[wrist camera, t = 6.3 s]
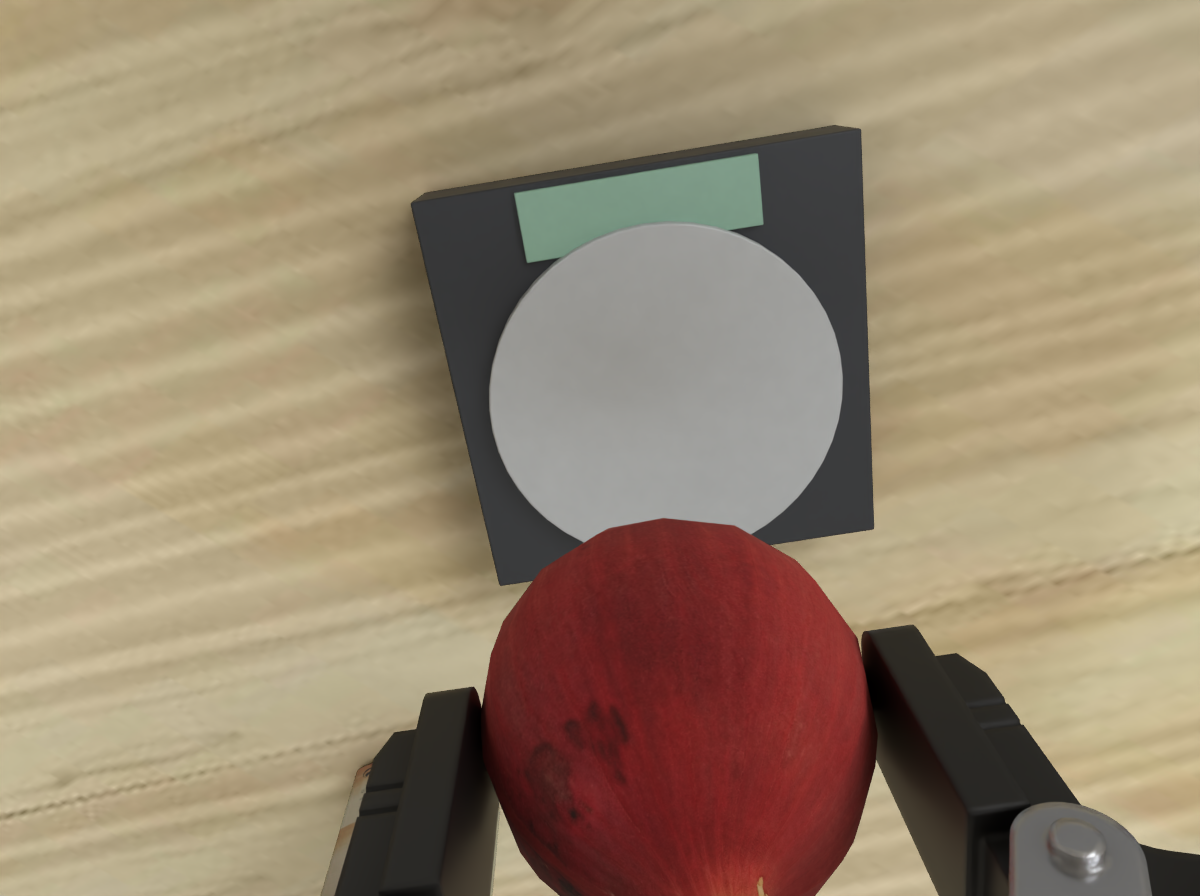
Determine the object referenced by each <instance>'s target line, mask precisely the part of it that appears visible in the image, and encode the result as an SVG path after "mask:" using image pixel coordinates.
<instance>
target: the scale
mask: <svg viewBox="0 0 1200 896" xmlns="http://www.w3.org/2000/svg"><path fill="white" fill-rule="evenodd" d="M411 208H412V212H413V217H414V221H415V225H416V229H417V234H418V238H419V242H420V247H421V251H422V255H423V259H424V264H425V268H426V272H427V277H428V281H429V285H430V289H431V294H432V298H433V302H434V307H435V311H436V315H437V319H438V324H439V328H440V332H441V337H442V341H443V345H444V349H445V354H446V358H447V362H448V367H449V371H450V375H451V379H452V384H453V388H454V392H455V397H456V401H457V405H458V409H459V414H460V418H461V422H462V427H463V431H464V435H465V439H466V444H467V448H468V452H469V457H470V461H471V465H472V469H473V474H474V478H475V482H476V487H477V491H478V495H479V499H480V504H481V508H482V512H483V516H484V521H485V525H486V529H487V534H488V538H489V542H490V546H491V551H492V555H493V559H494V564H495V568H496V572H497V576H498V581H499V584H500V586H503V585H510V584H516V583H523V582H529V581H533V580H534V579H535V578H536V576H537V575H538V574H539V572H540V571H541V569H543V568H545V567H546V566H548V565H549V564H551V563H552V562H554V561H555V560H557V559H559V558H560V557H562V556H563V555H565V554H567V553H568V552H570V551H572V550H573V549H575V548H576V547H578V546H579V545H581V544H583V543H584V542H586V541H587V540H589V539H591V538H592V537H594V536H595V535H597V534H599V533H601V532H602V531H604V530H606V529H608V528H612V527H617V526H623V525H628V524H633V523H639V522H644V521H650V520H655V519H660V518H669V519H678V520H688V521H698V522H707V523H717V524H726V525H735V526H737V527H739V528H740V529H742V530H744V531H746V532H747V533H749V534H751V535H753V536H754V537H756V538H758V539H760V540H761V541H763V542H765V543H767V544H768V545H774V544H780V543H787V542H793V541H800V540H807V539H813V538H820V537H826V536H833V535H840V534H846V533H853V532H859V531H866V530H873V529H874V509H873V479H872V448H871V418H870V388H869V357H868V327H867V296H866V266H865V236H864V205H863V175H862V145H861V129H859V128H851V127H844V126H836V125H833V126H827V127H821V128H815V129H809V130H803V131H797V132H791V133H785V134H779V135H773V136H767V137H761V138H754V139H748V140H742V141H736V142H730V143H724V144H718V145H712V146H706V147H700V148H694V149H688V150H682V151H676V152H670V153H664V154H657V155H651V156H645V157H639V158H633V159H627V160H621V161H615V162H609V163H603V164H597V165H591V166H585V167H579V168H573V169H567V170H561V171H554V172H548V173H542V174H536V175H530V176H524V177H518V178H512V179H506V180H500V181H494V182H488V183H482V184H476V185H470V186H464V187H457V188H451V189H445V190H439V191H433V192H427V193H424V194H423V195H421V196H420V197H419V198H417V199H416V200H414V201H413V202H412V203H411Z"/></svg>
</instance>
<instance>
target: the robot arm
mask: <svg viewBox="0 0 1200 896" xmlns="http://www.w3.org/2000/svg"><path fill="white" fill-rule="evenodd" d="M861 648H862V661H863V665H864V670H865V674H866V679H867V684H868V688H869V693H870V698H871V703H872V708H873V712H874V717H875V722H876V727H877V732H878V740H877V751H876V760H877V762H878V764H879V767H880V769H881V771H882V773H883V775H884V777H885V780H886V782H887V784H888V786H889V788H890V791H891V793H892V795H893V797H894V799H895V801H896V804H897V806H898V808H899V810H900V812H901V814H902V817H903V819H904V821H905V823H906V825H907V828H908V830H909V832H910V834H911V836H912V838H913V841H914V843H915V845H916V847H917V849H918V851H919V854H920V856H921V858H922V860H923V862H924V865H925V867H926V869H927V871H928V873H929V875H930V878H931V880H932V882H933V884H934V886H935V888H936V891H937V893H938V895H939V896H1200V855H1197V854H1189V853H1182V852H1174V851H1167V850H1162V849H1156V848H1152V847H1149V846H1145V845H1142V844H1139V843H1138V842H1137V841H1136V839H1135V838H1134V837H1133V836H1132V835H1131V834H1130V833H1129V832H1128V831H1127V830H1126V829H1125V828H1124V827H1123V826H1122V825H1120V824H1119V823H1118V822H1116V821H1115V820H1113V819H1112V818H1110V817H1108V816H1107V815H1105V814H1103V813H1101V812H1098V811H1096V810H1094V809H1091V808H1088V807H1085V806H1082V805H1081V804H1080V803H1079V802H1078V800H1077V799H1076V798H1075V796H1074V795H1073V793H1072V792H1071V791H1070V789H1069V788H1068V786H1067V785H1066V784H1065V782H1064V781H1063V779H1062V778H1061V777H1060V775H1059V774H1058V772H1057V771H1056V770H1055V768H1054V767H1053V766H1052V764H1051V763H1050V761H1049V760H1048V759H1047V757H1046V756H1045V754H1044V753H1043V752H1042V750H1041V749H1040V747H1039V746H1038V745H1037V743H1036V742H1035V740H1034V739H1033V738H1032V736H1031V735H1030V733H1029V732H1028V731H1027V729H1026V728H1025V726H1024V725H1021V724H1020V720H1019V718H1018V717H1017V715H1016V714H1015V712H1014V711H1013V710H1012V708H1011V707H1010V706H1009V704H1006V703H1005V699H1004V697H1003V696H1002V694H1001V693H1000V692H999V690H998V689H997V687H996V686H995V685H994V683H993V682H992V680H991V679H990V678H989V676H988V675H987V673H985V672H984V671H982V670H981V669H979V668H978V667H976V666H975V665H973V664H972V663H970V662H969V661H967V660H966V659H964V658H963V657H962V656H960V655H959V654H957V653H955V654H948V655H941V656H935V655H934V653H933V652H932V650H931V649H930V647H929V646H928V644H927V643H926V641H925V639H924V638H923V636H922V635H921V633H920V632H919V630H918V629H917V628H916V627H915V626H914V625H906V626H899V627H892V628H885V629H878V630H871V631H864V632H863V634H862V640H861ZM481 710H482V708H481V704H480V700H479V696H478V693H477V691H476V689H475V688H474V687H468V688H461V689H454V690H447V691H440V692H433V693H427V694H426V695H425V697H424V699H423V703H422V707H421V712H420V716H419V720H418V724H417V729H415V730H408V731H401V732H394V734H393V735H392V736H391V737H390V739H389V740H388V741H387V743H386V744H385V745H384V746H383V748H382V749H381V750H380V752H379V753H378V754H377V755H376V757H375V758H374V760H373V763H372V767H371V770H370V774H369V777H368V781H367V784H366V793H364V795H363V798H362V801H361V805H360V808H359V817H357V819H356V822H355V826H354V829H353V833H352V836H351V840H350V843H349V846H348V850H347V853H346V857H345V860H344V864H343V867H342V871H341V874H340V878H339V881H338V885H337V888H336V891H335V895H334V896H490V892H491V881H492V871H493V860H494V850H495V840H496V829H497V819H498V808H499V800H498V797H497V795H496V792H495V790H494V787H493V784H492V782H491V779H490V777H489V774H488V771H487V769H486V766H485V764H484V761H483V754H482V742H481Z"/></svg>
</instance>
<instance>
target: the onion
mask: <svg viewBox="0 0 1200 896" xmlns="http://www.w3.org/2000/svg"><path fill="white" fill-rule="evenodd" d="M877 740H878V732H877V727H876V722H875V717H874V712H873V708H872V703H871V698H870V693H869V688H868V684H867V679H866V674H865V670H864V665H863V661H862V656H861V652H860V647H859V643H858V639H857V637H856V636H855V634H854V633H853V631H852V630H851V629H850V627H849V626H848V625H847V623H846V622H845V621H844V619H843V618H842V616H841V615H840V614H839V612H838V611H837V610H836V608H835V607H834V606H833V604H832V603H831V602H830V600H829V599H828V597H827V596H826V595H825V593H824V592H823V591H822V589H821V588H820V587H819V585H818V584H817V583H816V581H815V580H814V579H813V578H812V577H811V576H810V575H809V574H808V573H807V571H806V570H805V569H804V568H803V567H802V566H801V565H800V564H799V563H798V562H797V561H796V560H795V559H793V558H791V557H789V556H788V555H786V554H784V553H782V552H781V551H779V550H777V549H775V548H774V547H772V546H770V545H768V544H767V543H765V542H763V541H761V540H760V539H758V538H756V537H754V536H753V535H751V534H749V533H747V532H746V531H744V530H742V529H740V528H739V527H737V526H735V525H726V524H717V523H707V522H698V521H688V520H678V519H669V518H660V519H655V520H650V521H644V522H639V523H633V524H628V525H623V526H617V527H612V528H608V529H606V530H604V531H602V532H601V533H599V534H597V535H595V536H594V537H592V538H591V539H589V540H587V541H586V542H584V543H583V544H581V545H579V546H578V547H576V548H575V549H573V550H572V551H570V552H568V553H567V554H565V555H563V556H562V557H560V558H559V559H557V560H555V561H554V562H552V563H551V564H549V565H548V566H546V567H545V568H543V569H541V571H540V572H539V574H538V575H537V576H536V578H535V579H534V580H533V582H532V583H531V584H530V586H529V587H528V588H527V590H526V591H525V593H524V594H523V595H522V597H521V598H520V599H519V601H518V602H517V603H516V605H515V606H514V607H513V609H512V610H511V612H510V613H509V614H508V616H507V617H506V618H505V620H504V621H503V624H502V626H501V629H500V632H499V634H498V637H497V640H496V642H495V645H494V648H493V650H492V653H491V657H490V663H489V669H488V675H487V681H486V686H485V692H484V698H483V704H482V710H481V742H482V754H483V761H484V764H485V766H486V769H487V771H488V774H489V777H490V779H491V782H492V784H493V787H494V790H495V792H496V795H497V797H498V800H499V802H500V805H501V807H502V809H503V812H504V814H505V817H506V819H507V821H508V824H509V826H510V829H511V831H512V834H513V836H514V838H515V841H516V843H517V846H518V848H519V850H520V853H521V854H522V855H523V857H524V858H525V860H526V861H527V862H528V864H529V865H530V866H531V868H532V869H533V870H534V872H535V873H536V874H537V876H538V877H539V878H540V879H541V880H542V881H543V882H544V883H546V884H547V885H548V886H549V887H550V888H551V889H553V890H554V891H555V892H556V893H557V894H559V895H560V896H815V895H816V894H817V893H818V891H819V890H820V889H821V888H822V886H823V885H824V884H825V882H826V881H827V880H828V879H829V877H830V876H831V875H832V874H833V872H834V871H835V870H836V869H837V867H838V866H839V865H840V863H841V862H842V861H843V859H844V857H845V856H846V854H847V852H848V851H849V849H850V847H851V845H852V844H853V842H854V839H855V836H856V832H857V829H858V826H859V823H860V820H861V816H862V813H863V809H864V805H865V802H866V798H867V794H868V791H869V787H870V783H871V780H872V776H873V772H874V769H875V763H876V751H877Z"/></svg>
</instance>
